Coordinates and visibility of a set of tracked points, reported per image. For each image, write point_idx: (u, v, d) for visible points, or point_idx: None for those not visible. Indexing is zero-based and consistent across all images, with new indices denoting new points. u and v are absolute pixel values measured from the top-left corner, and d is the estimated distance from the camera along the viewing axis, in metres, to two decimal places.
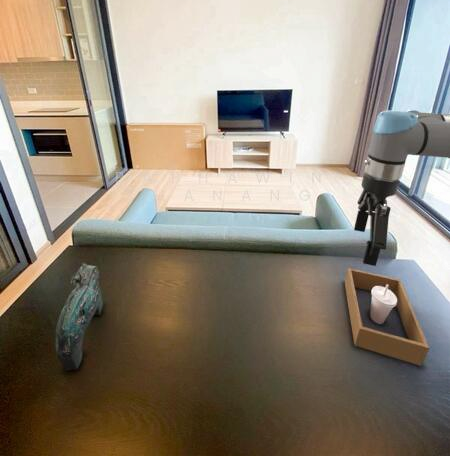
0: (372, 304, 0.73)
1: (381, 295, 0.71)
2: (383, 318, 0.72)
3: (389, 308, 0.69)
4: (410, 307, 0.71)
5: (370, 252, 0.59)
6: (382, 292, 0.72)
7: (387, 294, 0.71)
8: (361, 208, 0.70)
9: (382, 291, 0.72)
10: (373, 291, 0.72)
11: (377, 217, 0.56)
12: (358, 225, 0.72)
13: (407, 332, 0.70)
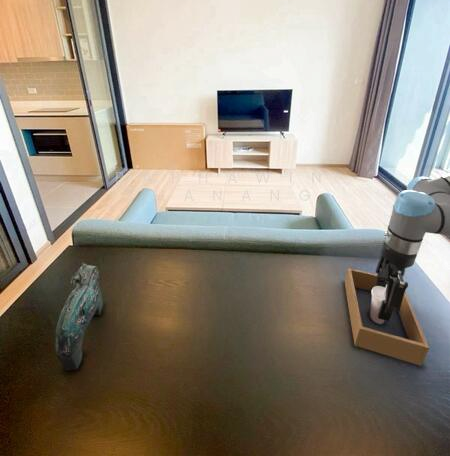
0: (372, 304, 0.73)
1: (381, 295, 0.71)
2: None
3: None
4: (410, 307, 0.71)
5: (385, 310, 0.68)
6: (382, 292, 0.72)
7: None
8: (380, 277, 0.74)
9: (382, 291, 0.72)
10: (373, 291, 0.72)
11: (395, 289, 0.63)
12: None
13: (407, 332, 0.70)
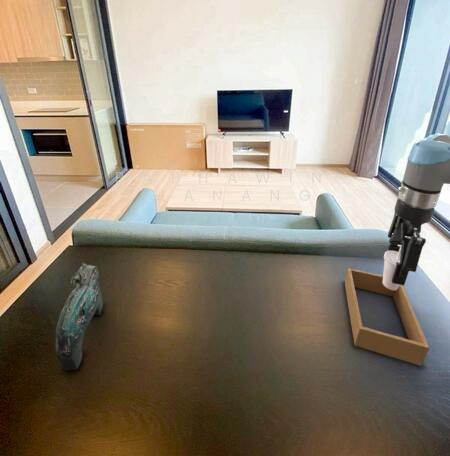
0: (385, 269, 0.68)
1: (395, 258, 0.66)
2: None
3: None
4: (410, 307, 0.71)
5: (399, 273, 0.63)
6: (395, 256, 0.67)
7: None
8: (393, 241, 0.69)
9: (395, 255, 0.68)
10: (386, 255, 0.68)
11: (411, 247, 0.58)
12: None
13: (407, 332, 0.70)
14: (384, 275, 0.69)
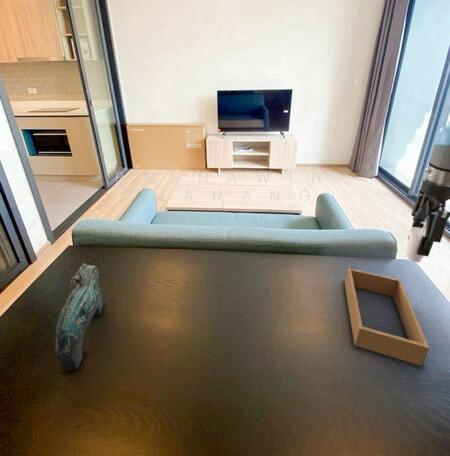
0: (410, 243, 0.77)
1: (419, 233, 0.75)
2: (421, 255, 0.76)
3: None
4: (410, 307, 0.71)
5: (424, 245, 0.72)
6: (420, 231, 0.76)
7: None
8: (417, 218, 0.78)
9: (419, 230, 0.76)
10: (411, 230, 0.76)
11: (437, 220, 0.67)
12: None
13: (407, 332, 0.70)
14: (409, 249, 0.78)
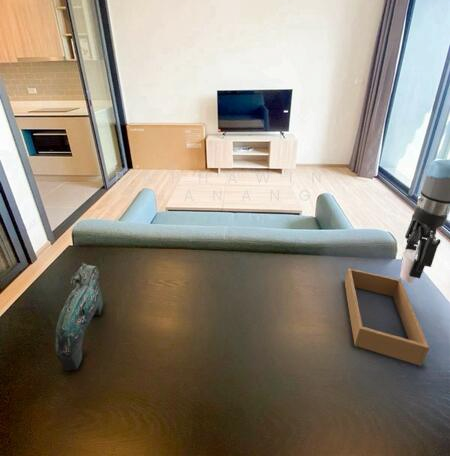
0: (403, 265, 0.81)
1: (412, 256, 0.79)
2: None
3: None
4: (410, 307, 0.71)
5: (416, 268, 0.76)
6: (412, 253, 0.80)
7: None
8: (410, 241, 0.82)
9: (412, 253, 0.81)
10: (404, 253, 0.81)
11: (428, 246, 0.71)
12: None
13: (407, 332, 0.70)
14: (402, 270, 0.82)
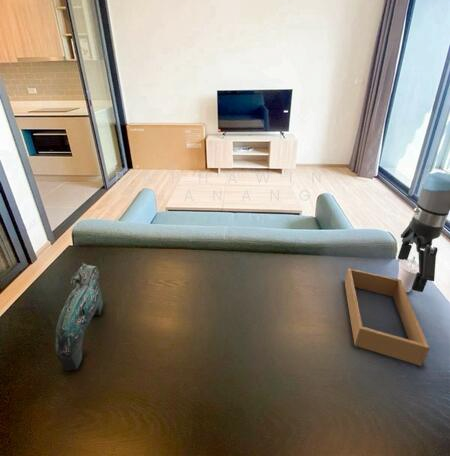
0: (399, 275, 0.83)
1: (408, 266, 0.81)
2: (409, 287, 0.82)
3: None
4: (410, 307, 0.71)
5: (419, 282, 0.74)
6: (409, 264, 0.82)
7: (413, 266, 0.81)
8: (405, 242, 0.86)
9: (408, 263, 0.82)
10: (400, 263, 0.83)
11: (427, 255, 0.71)
12: (402, 255, 0.88)
13: (407, 332, 0.70)
14: None
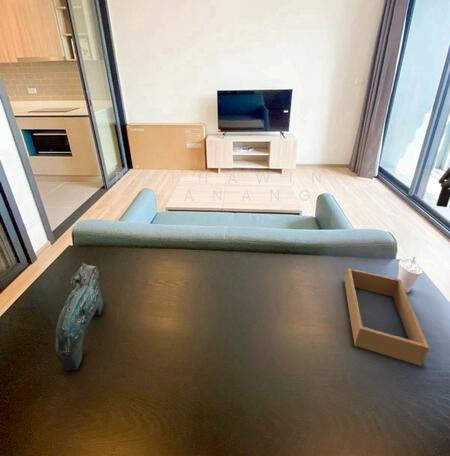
0: (399, 275, 0.83)
1: (408, 266, 0.81)
2: (409, 287, 0.82)
3: (415, 277, 0.80)
4: (410, 307, 0.71)
5: None
6: (408, 264, 0.82)
7: (413, 266, 0.81)
8: (445, 186, 0.81)
9: (408, 263, 0.82)
10: (400, 263, 0.83)
11: None
12: (441, 201, 0.83)
13: (407, 332, 0.70)
14: None
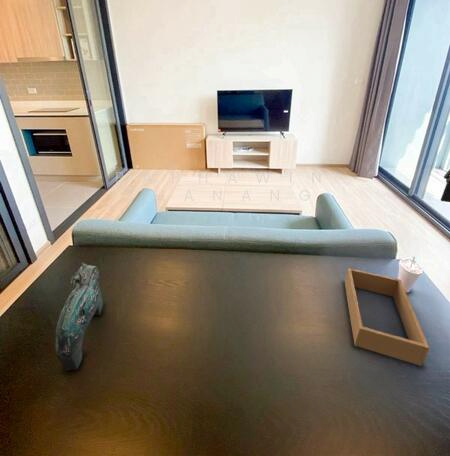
0: (399, 275, 0.83)
1: (408, 266, 0.81)
2: (409, 287, 0.82)
3: (415, 277, 0.80)
4: (410, 307, 0.71)
5: None
6: (408, 264, 0.82)
7: (413, 266, 0.81)
8: None
9: (408, 263, 0.82)
10: (400, 263, 0.83)
11: None
12: (446, 196, 0.83)
13: (407, 332, 0.70)
14: None
